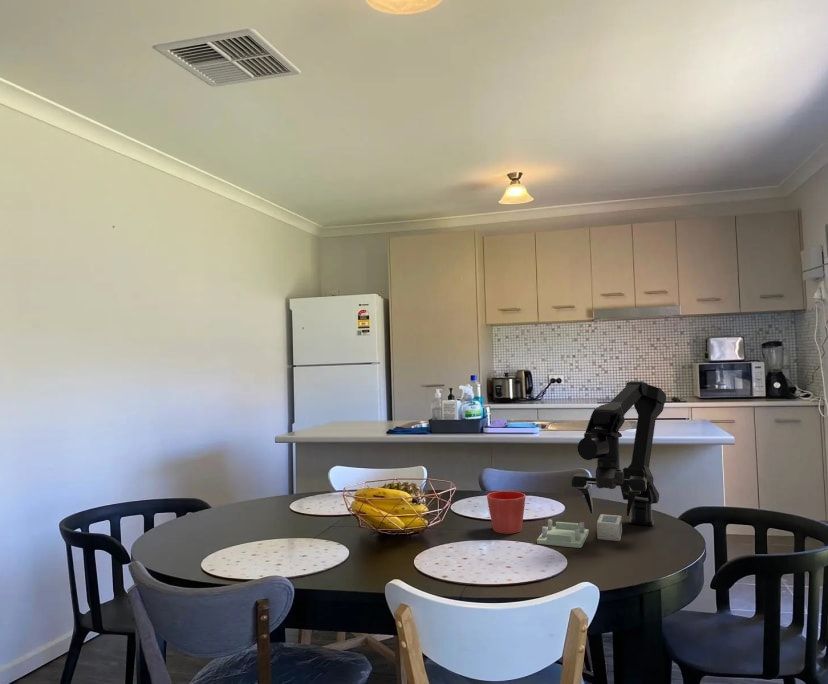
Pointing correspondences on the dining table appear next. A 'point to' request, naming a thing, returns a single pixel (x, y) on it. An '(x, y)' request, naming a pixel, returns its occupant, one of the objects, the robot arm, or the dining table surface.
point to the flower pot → (506, 511)
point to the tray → (563, 534)
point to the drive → (609, 527)
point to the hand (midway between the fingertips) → (609, 514)
